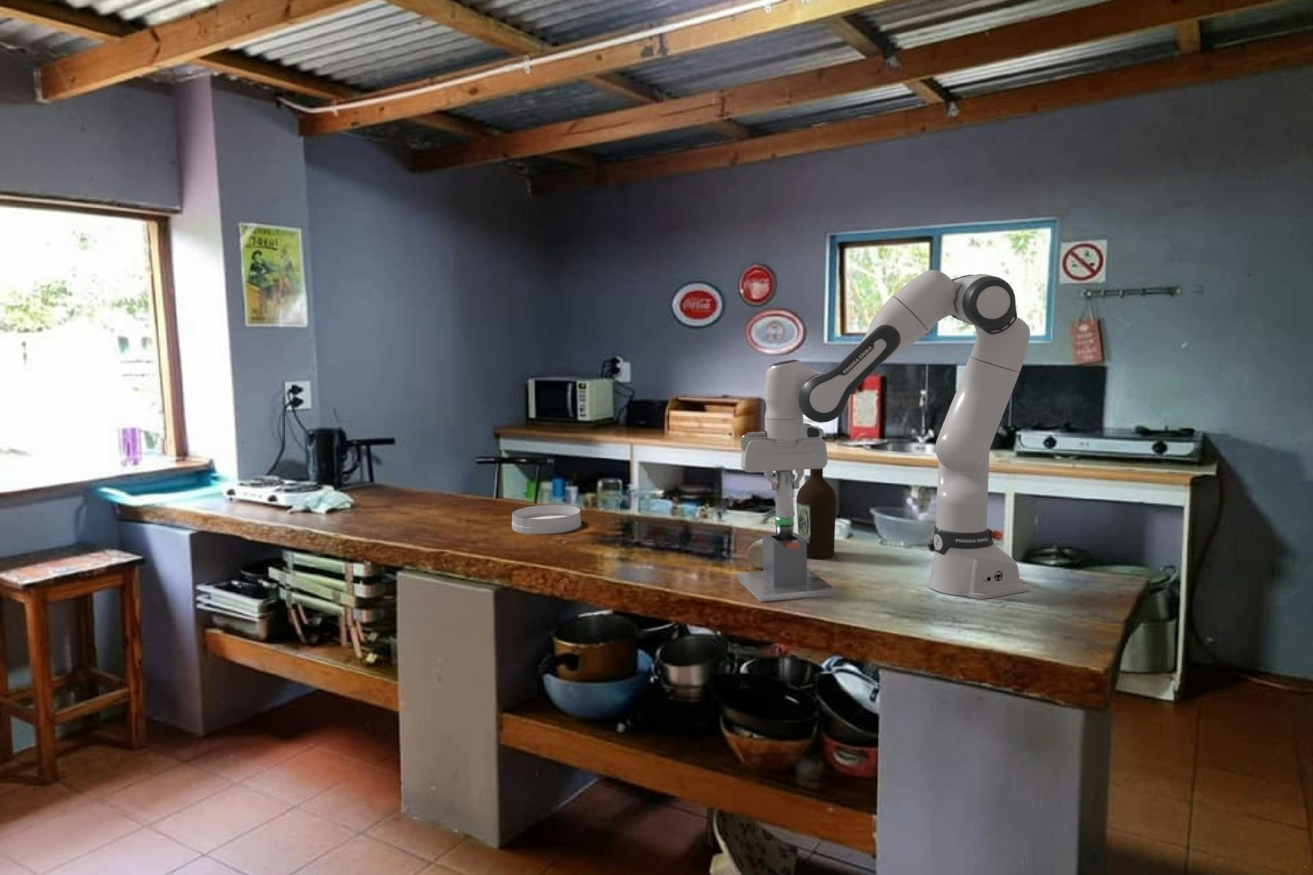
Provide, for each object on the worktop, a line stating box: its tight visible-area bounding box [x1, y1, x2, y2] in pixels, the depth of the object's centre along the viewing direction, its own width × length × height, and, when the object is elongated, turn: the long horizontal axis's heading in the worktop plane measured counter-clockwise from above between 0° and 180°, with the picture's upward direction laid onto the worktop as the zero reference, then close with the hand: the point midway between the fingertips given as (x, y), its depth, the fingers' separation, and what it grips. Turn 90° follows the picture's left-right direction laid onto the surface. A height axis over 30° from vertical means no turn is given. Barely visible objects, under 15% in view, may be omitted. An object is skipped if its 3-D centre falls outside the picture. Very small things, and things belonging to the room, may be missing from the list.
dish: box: [511, 504, 582, 535], centre depth 265 cm, size 22×22×5 cm
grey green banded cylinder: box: [774, 470, 795, 541], centre depth 193 cm, size 4×4×18 cm
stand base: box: [736, 531, 837, 603], centre depth 195 cm, size 18×18×12 cm
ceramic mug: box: [747, 537, 763, 570], centre depth 212 cm, size 11×8×8 cm
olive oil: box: [796, 468, 838, 560], centre depth 222 cm, size 11×11×25 cm
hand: (784, 489), depth 193 cm, fingers closed on grey green banded cylinder, 4 cm apart
